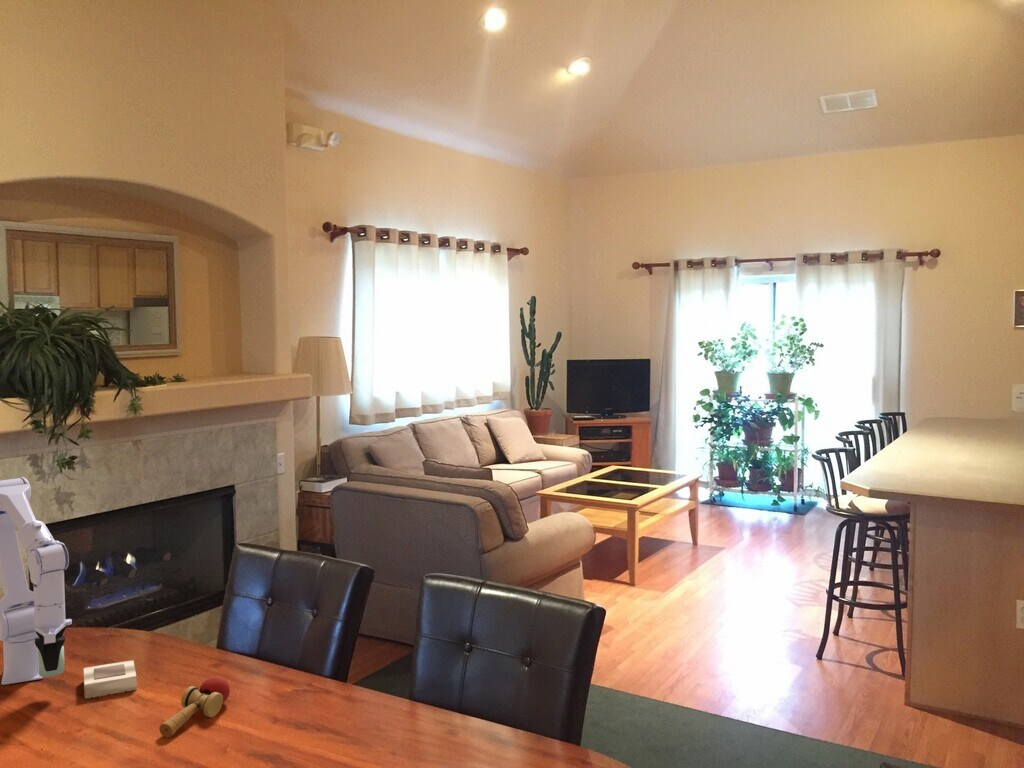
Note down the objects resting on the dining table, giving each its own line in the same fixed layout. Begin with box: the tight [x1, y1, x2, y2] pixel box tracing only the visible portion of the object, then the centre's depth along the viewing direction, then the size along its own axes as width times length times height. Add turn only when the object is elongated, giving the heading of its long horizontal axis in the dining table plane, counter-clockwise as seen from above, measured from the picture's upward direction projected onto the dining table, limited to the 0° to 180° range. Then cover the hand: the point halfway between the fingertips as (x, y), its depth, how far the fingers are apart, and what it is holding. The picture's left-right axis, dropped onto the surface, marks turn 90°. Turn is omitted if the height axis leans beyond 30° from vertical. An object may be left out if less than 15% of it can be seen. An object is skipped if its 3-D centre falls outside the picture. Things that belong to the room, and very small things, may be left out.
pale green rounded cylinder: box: [38, 645, 66, 678], centre depth 184 cm, size 5×5×5 cm
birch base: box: [83, 659, 138, 699], centre depth 190 cm, size 10×10×3 cm
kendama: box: [159, 675, 231, 739], centre depth 175 cm, size 8×6×18 cm
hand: (51, 665), depth 184 cm, fingers closed on pale green rounded cylinder, 5 cm apart
